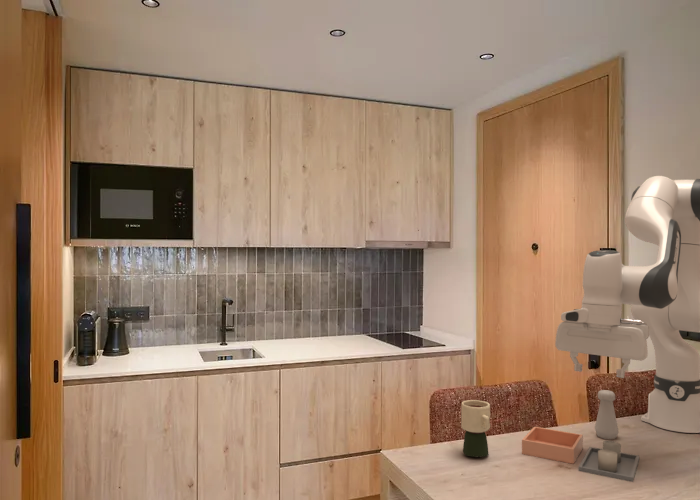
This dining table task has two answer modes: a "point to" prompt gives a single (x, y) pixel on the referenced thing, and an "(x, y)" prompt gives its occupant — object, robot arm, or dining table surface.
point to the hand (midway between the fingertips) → (598, 374)
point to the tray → (624, 468)
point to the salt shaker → (606, 416)
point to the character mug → (475, 427)
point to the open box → (552, 445)
